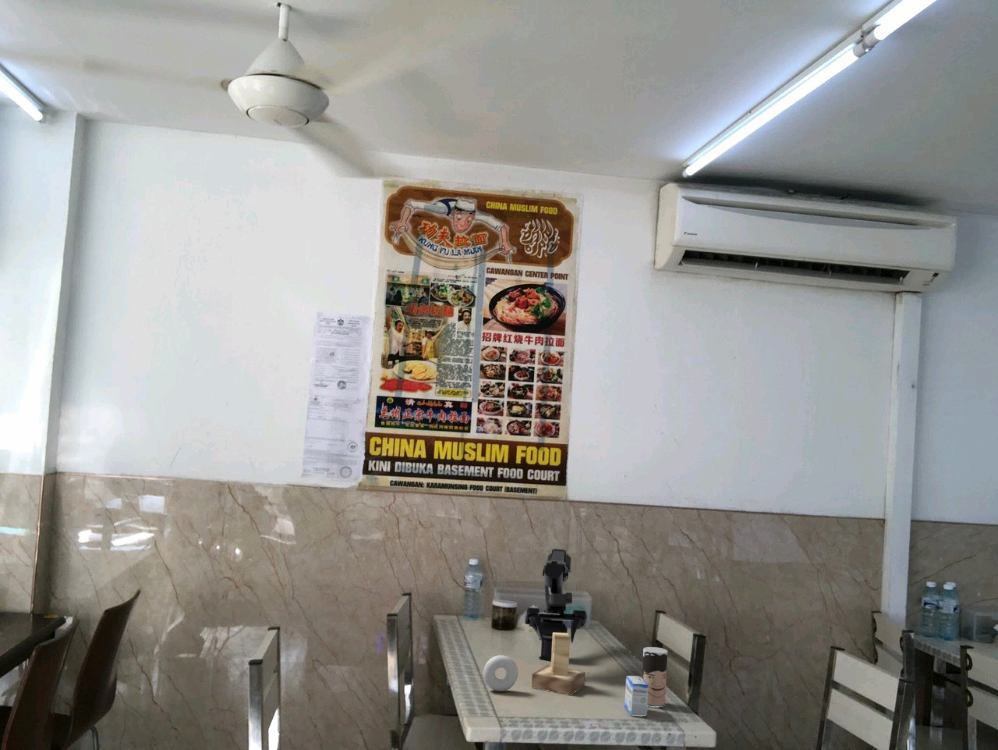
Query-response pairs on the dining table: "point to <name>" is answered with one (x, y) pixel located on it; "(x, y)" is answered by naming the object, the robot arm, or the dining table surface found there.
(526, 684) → the dining table surface
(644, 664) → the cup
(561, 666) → the oak block
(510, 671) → the donut
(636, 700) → the medicine box
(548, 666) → the plinth
